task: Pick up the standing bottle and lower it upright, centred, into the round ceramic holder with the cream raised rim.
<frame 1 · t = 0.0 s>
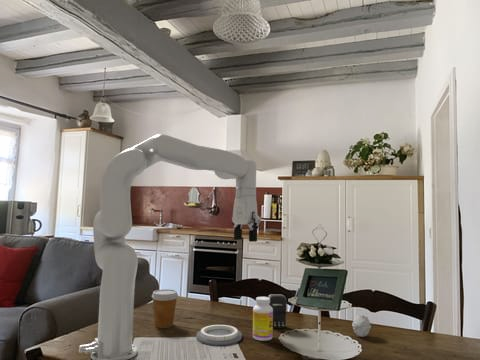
hand: (245, 240, 129), 31 cm above the table, tool pointing down, fingers open, 9 cm apart
disposable coffee cup: (163, 326, 129), on the table
supplement bottle: (262, 338, 117), on the table
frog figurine: (361, 336, 120), on the table
battery: (276, 328, 128), on the table
round holder: (219, 337, 117), on the table
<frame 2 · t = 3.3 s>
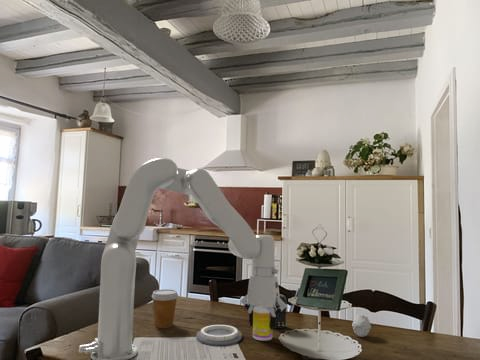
hand: (262, 326, 118), 4 cm above the table, tool pointing down, fingers closed on supplement bottle, 6 cm apart
supplement bottle: (262, 338, 117), on the table, touching gripper
everything else where it was.
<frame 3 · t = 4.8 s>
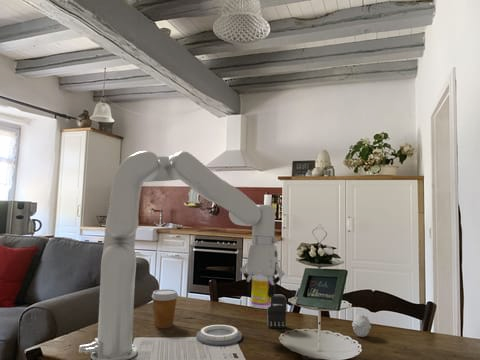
hand: (261, 294, 118), 14 cm above the table, tool pointing down, fingers closed on supplement bottle, 6 cm apart
supplement bottle: (260, 307, 118), point 10 cm above the table, touching gripper
everything else where it was.
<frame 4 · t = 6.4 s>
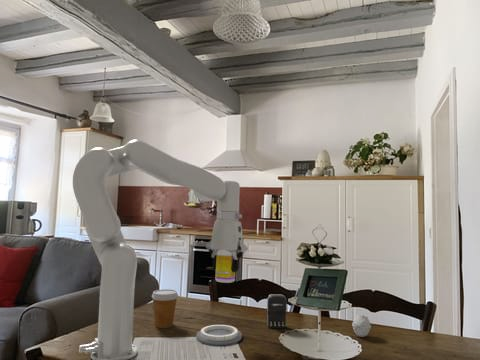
hand: (225, 270, 119), 22 cm above the table, tool pointing down, fingers closed on supplement bottle, 6 cm apart
supplement bottle: (225, 281, 119), point 18 cm above the table, touching gripper
everything else where it was.
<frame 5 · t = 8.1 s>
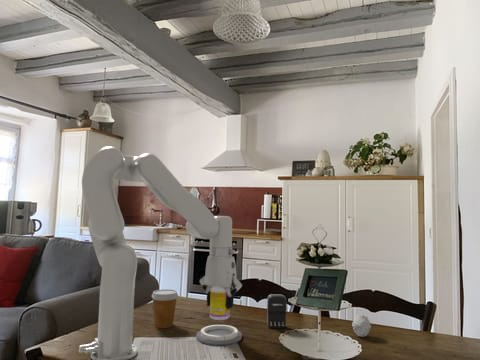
hand: (219, 306, 118), 10 cm above the table, tool pointing down, fingers closed on supplement bottle, 6 cm apart
supplement bottle: (219, 318, 118), point 6 cm above the table, touching gripper
everything else where it was.
when the fingers open (6 cm above the table, at t = 9.5 s): supplement bottle drops 1 cm, resting on round holder.
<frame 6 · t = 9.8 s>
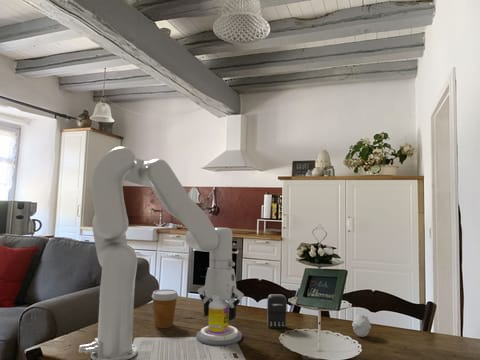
hand: (219, 317, 118), 6 cm above the table, tool pointing down, fingers open, 9 cm apart
supplement bottle: (218, 334, 117), point 1 cm above the table, touching round holder
everything else where it was.
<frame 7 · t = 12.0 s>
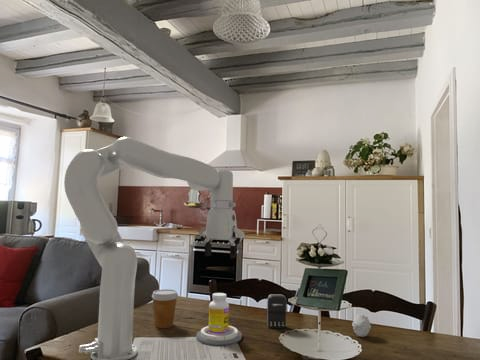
hand: (220, 256, 120), 26 cm above the table, tool pointing down, fingers open, 9 cm apart
nothing on the table moved.
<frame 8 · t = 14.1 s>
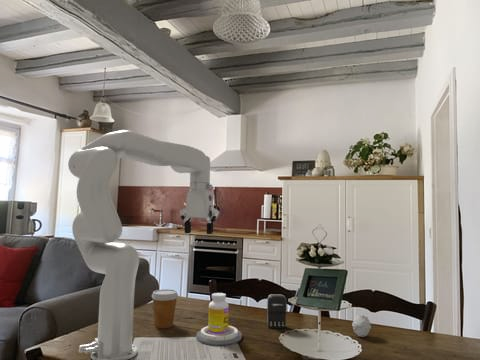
hand: (198, 233, 132), 33 cm above the table, tool pointing down, fingers open, 9 cm apart
nothing on the table moved.
at the end: supplement bottle 0.3 cm from the round holder (horizontally); supplement bottle tilted 1°; the gripper is holding nothing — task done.
